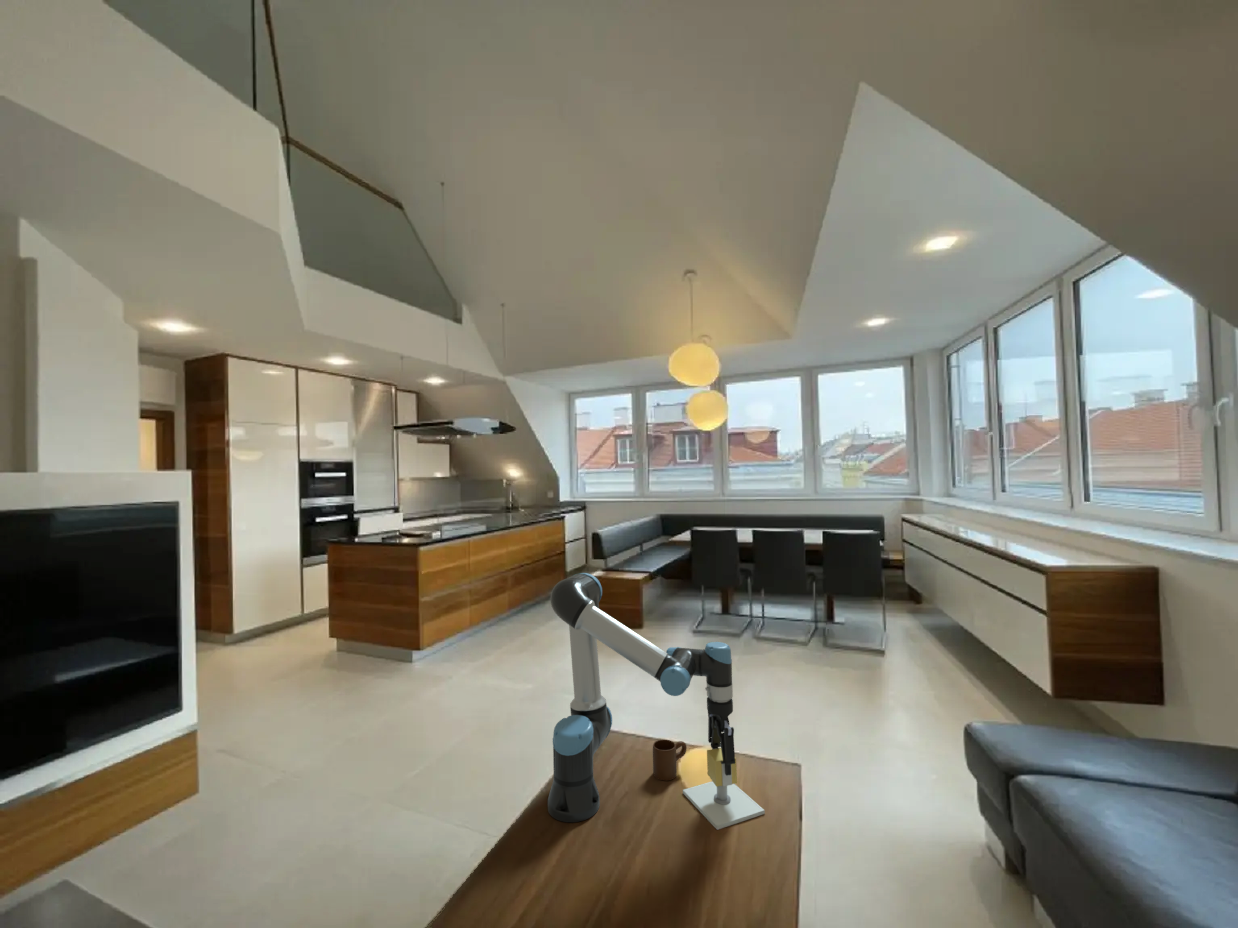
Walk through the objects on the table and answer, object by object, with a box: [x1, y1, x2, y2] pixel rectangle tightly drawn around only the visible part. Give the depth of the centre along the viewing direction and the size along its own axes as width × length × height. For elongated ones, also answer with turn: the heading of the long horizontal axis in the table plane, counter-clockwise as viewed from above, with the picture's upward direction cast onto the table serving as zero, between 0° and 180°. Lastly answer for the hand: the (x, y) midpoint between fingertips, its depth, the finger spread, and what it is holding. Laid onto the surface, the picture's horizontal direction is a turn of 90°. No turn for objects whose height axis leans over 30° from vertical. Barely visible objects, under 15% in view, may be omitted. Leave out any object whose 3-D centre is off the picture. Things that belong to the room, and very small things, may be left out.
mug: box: [652, 739, 688, 781], centre depth 163 cm, size 12×8×9 cm, turn 114°
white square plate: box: [682, 780, 765, 830], centre depth 147 cm, size 18×16×9 cm
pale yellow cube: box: [706, 747, 738, 787], centre depth 147 cm, size 6×6×7 cm
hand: (721, 777), depth 147 cm, fingers closed on pale yellow cube, 6 cm apart
